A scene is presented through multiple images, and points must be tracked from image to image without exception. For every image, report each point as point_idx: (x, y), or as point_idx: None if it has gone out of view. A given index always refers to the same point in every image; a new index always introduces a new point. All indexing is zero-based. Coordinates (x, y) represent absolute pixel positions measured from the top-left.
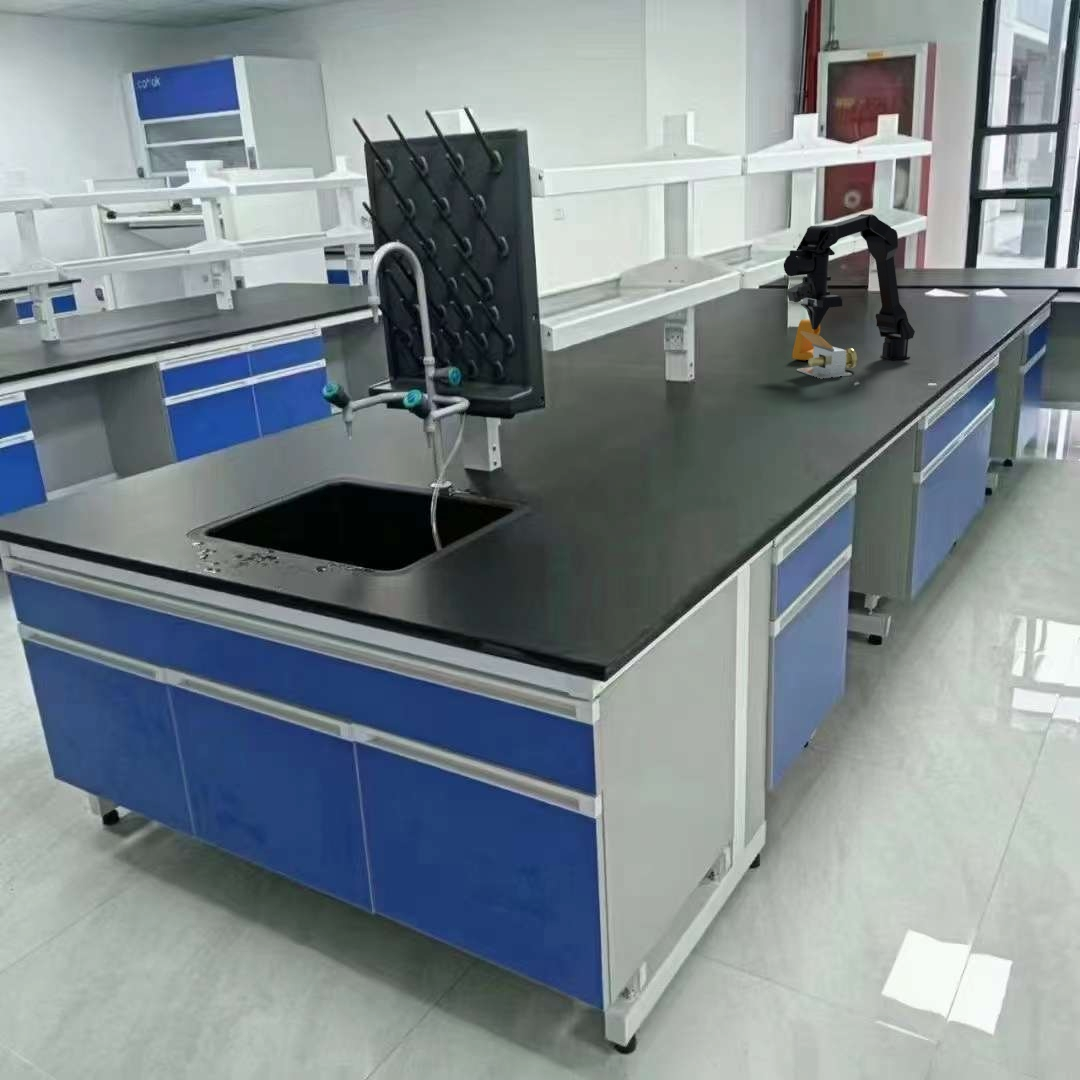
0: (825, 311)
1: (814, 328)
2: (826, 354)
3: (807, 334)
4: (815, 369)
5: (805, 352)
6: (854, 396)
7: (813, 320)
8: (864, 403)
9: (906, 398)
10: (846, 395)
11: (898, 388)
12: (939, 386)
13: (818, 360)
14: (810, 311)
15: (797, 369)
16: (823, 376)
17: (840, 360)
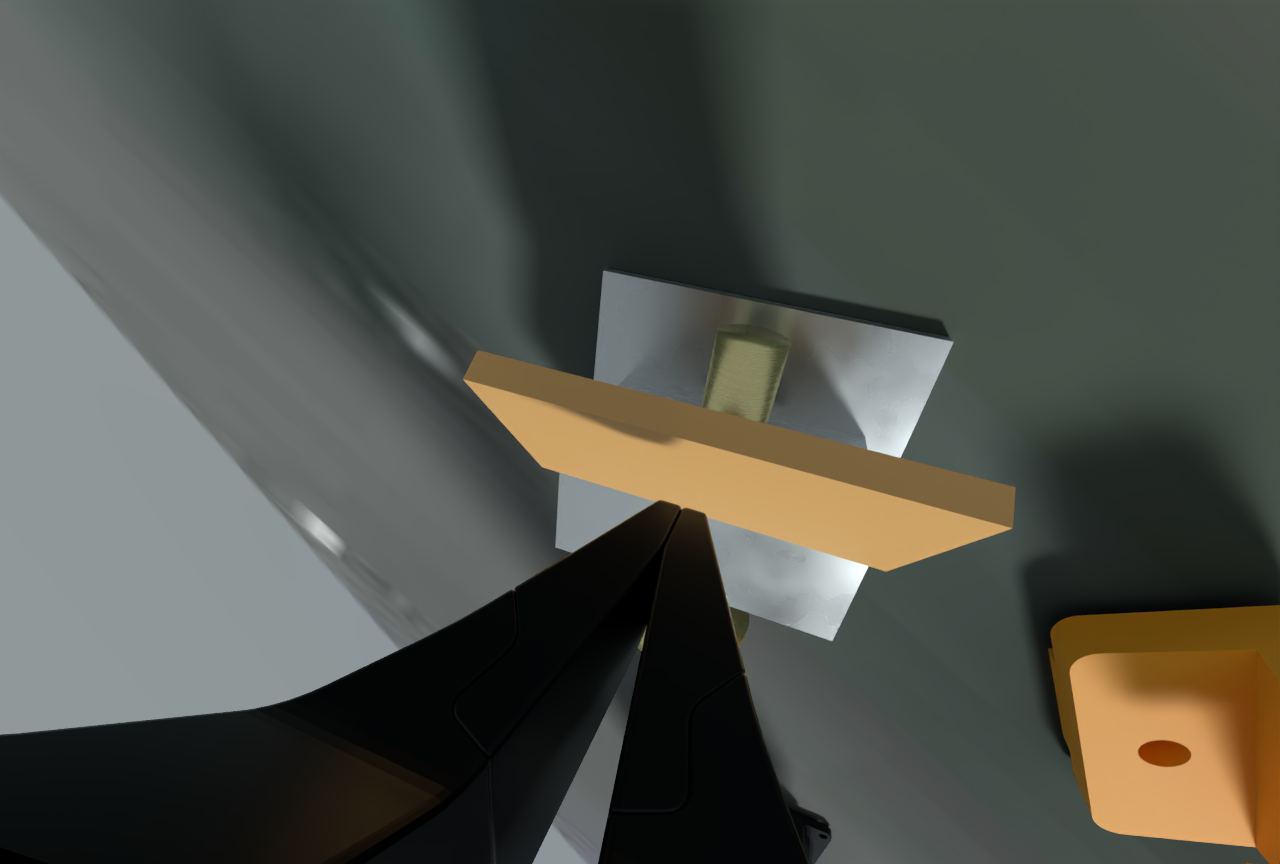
0: None
1: (650, 515)
2: None
3: (770, 428)
4: (814, 417)
5: (1207, 685)
6: (168, 100)
7: (568, 572)
8: (34, 30)
9: (128, 284)
10: (191, 75)
11: (286, 400)
12: (287, 520)
13: (708, 389)
14: (608, 829)
15: (944, 338)
16: (601, 293)
17: None
